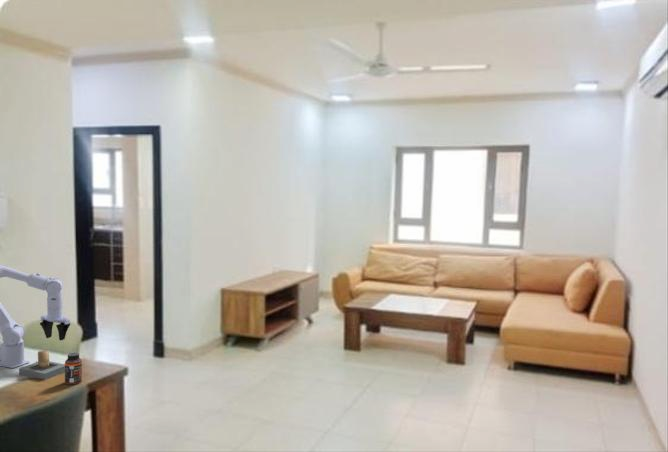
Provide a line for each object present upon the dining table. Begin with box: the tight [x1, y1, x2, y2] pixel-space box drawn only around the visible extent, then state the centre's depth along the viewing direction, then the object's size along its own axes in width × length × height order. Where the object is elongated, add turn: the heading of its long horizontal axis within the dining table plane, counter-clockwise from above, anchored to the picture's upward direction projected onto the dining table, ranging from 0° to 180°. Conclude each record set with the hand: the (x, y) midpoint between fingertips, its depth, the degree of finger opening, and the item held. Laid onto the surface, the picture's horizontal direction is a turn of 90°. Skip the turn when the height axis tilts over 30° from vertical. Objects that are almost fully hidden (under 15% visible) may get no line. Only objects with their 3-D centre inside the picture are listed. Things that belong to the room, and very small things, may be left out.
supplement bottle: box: [64, 352, 83, 386], centre depth 206 cm, size 6×6×11 cm
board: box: [18, 360, 65, 381], centre depth 216 cm, size 14×11×3 cm
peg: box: [37, 349, 50, 369], centre depth 216 cm, size 4×4×8 cm
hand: (55, 338), depth 229 cm, fingers open, 7 cm apart
